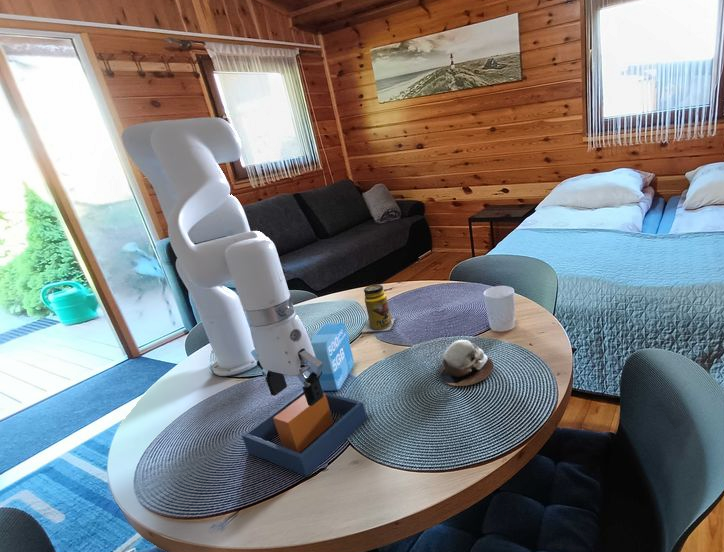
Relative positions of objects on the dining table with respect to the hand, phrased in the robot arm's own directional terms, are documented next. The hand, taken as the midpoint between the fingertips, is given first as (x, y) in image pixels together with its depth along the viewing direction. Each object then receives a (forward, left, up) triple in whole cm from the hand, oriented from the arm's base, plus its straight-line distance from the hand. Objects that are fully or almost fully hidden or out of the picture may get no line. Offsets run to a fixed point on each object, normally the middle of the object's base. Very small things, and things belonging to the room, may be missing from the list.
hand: (297, 396), depth 79 cm
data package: (-9, +17, -9) cm, 22 cm away
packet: (0, 0, -9) cm, 9 cm away
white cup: (+18, +51, -9) cm, 55 cm away
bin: (0, 0, -9) cm, 9 cm away
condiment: (-17, +42, -9) cm, 46 cm away
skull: (+19, +29, -9) cm, 36 cm away
